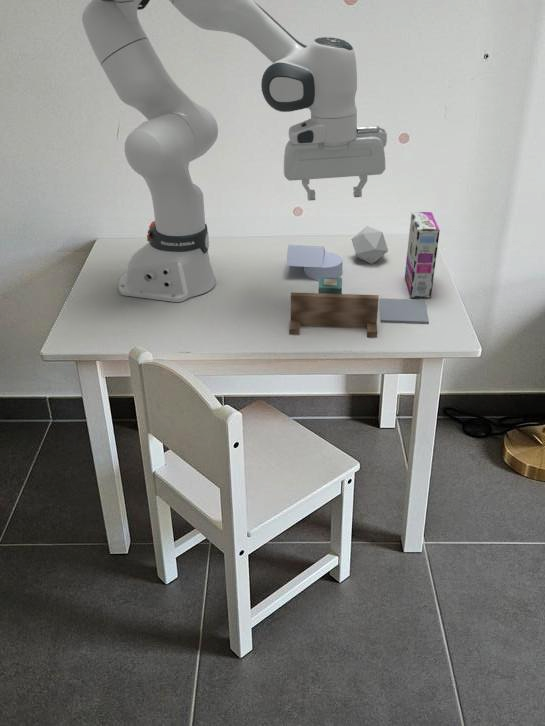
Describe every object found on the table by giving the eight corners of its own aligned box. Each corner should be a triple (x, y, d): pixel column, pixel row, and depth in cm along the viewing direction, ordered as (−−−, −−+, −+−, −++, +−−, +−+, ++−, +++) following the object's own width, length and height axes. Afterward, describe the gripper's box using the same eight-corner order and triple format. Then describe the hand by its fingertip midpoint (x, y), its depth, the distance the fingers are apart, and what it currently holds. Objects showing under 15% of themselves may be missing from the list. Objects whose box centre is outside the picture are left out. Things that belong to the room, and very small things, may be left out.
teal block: (317, 312, 159) (318, 286, 156) (318, 301, 164) (319, 276, 160) (340, 313, 159) (342, 287, 156) (341, 302, 163) (342, 277, 160)
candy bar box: (432, 298, 164) (440, 229, 155) (410, 298, 164) (417, 229, 155) (425, 277, 173) (432, 210, 165) (404, 277, 174) (410, 210, 165)
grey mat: (380, 322, 155) (381, 320, 155) (379, 300, 164) (379, 298, 163) (428, 323, 154) (428, 321, 154) (424, 301, 163) (425, 299, 163)
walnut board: (289, 334, 151) (289, 304, 148) (291, 321, 156) (291, 292, 152) (376, 337, 150) (379, 307, 146) (376, 324, 154) (378, 295, 151)
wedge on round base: (286, 278, 174) (340, 281, 172) (285, 252, 170) (342, 255, 169) (290, 262, 181) (343, 265, 180) (290, 237, 178) (344, 239, 176)
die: (393, 263, 182) (388, 225, 183) (381, 258, 174) (376, 218, 175) (362, 269, 186) (358, 232, 186) (350, 265, 178) (345, 226, 179)
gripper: (384, 121, 145) (382, 189, 152) (281, 128, 145) (284, 196, 152) (390, 129, 140) (388, 199, 147) (283, 136, 139) (286, 206, 146)
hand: (334, 198), depth 149 cm, fingers open, 8 cm apart
